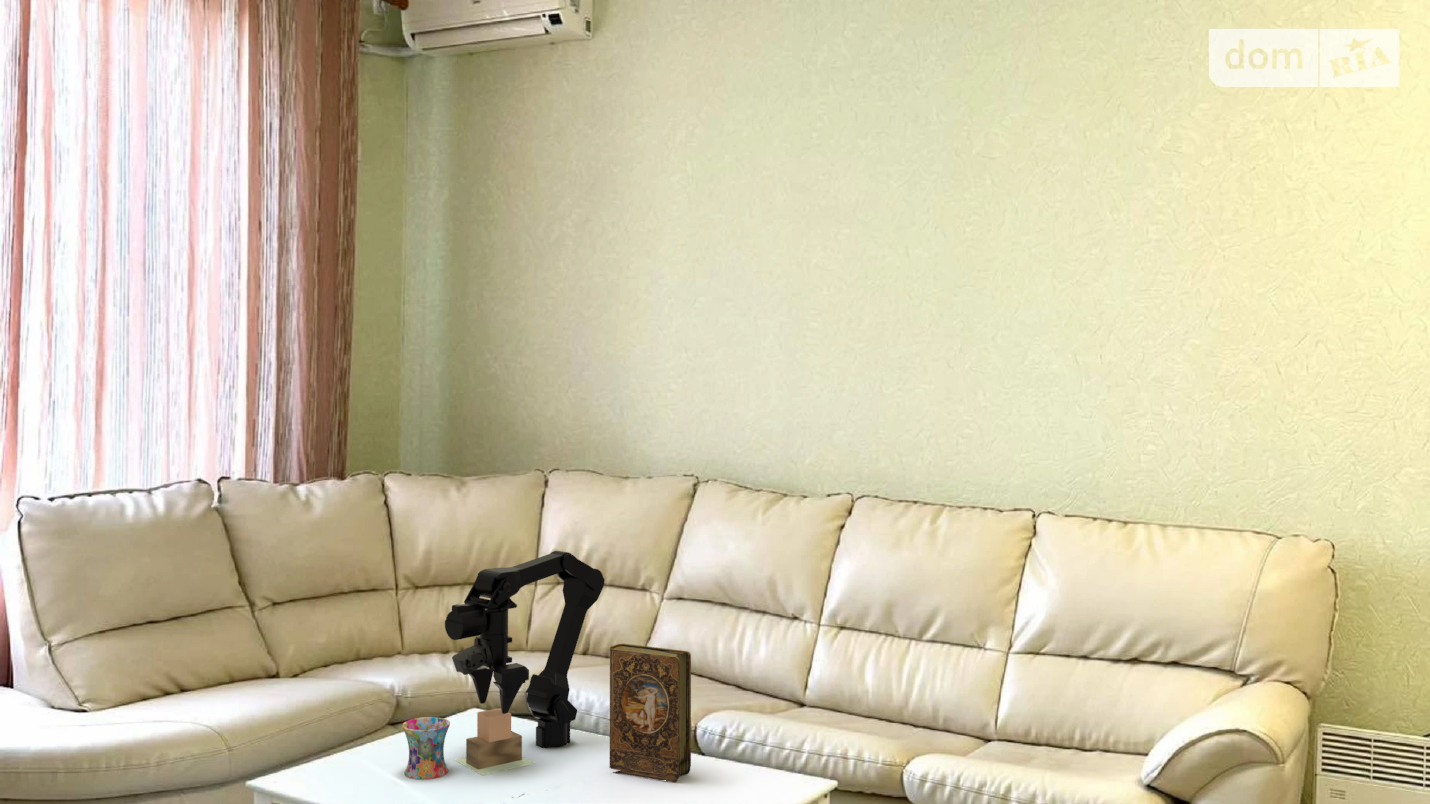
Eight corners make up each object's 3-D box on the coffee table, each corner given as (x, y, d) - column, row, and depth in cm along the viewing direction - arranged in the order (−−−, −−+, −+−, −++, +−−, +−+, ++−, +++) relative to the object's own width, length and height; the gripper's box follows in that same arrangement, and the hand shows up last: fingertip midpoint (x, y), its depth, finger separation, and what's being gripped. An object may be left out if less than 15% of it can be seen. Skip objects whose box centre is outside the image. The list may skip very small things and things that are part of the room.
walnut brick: (509, 753, 274) (509, 729, 273) (521, 759, 270) (521, 735, 270) (466, 763, 268) (466, 738, 267) (478, 769, 264) (478, 744, 263)
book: (605, 771, 265) (605, 648, 264) (618, 763, 270) (619, 643, 269) (678, 783, 258) (679, 657, 257) (690, 775, 263) (691, 651, 262)
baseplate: (505, 752, 277) (505, 748, 277) (534, 767, 268) (534, 763, 268) (453, 763, 270) (453, 759, 270) (482, 779, 260) (482, 775, 260)
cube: (477, 736, 269) (477, 712, 269) (499, 732, 272) (499, 708, 272) (489, 742, 265) (489, 717, 265) (511, 737, 268) (511, 713, 268)
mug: (437, 786, 256) (437, 732, 256) (393, 781, 258) (393, 728, 258) (464, 767, 268) (463, 715, 267) (422, 762, 270) (422, 711, 269)
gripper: (436, 629, 270) (436, 704, 270) (480, 645, 255) (480, 725, 256) (485, 622, 277) (484, 696, 277) (530, 638, 262) (530, 716, 263)
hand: (493, 708), depth 268 cm, fingers open, 9 cm apart
